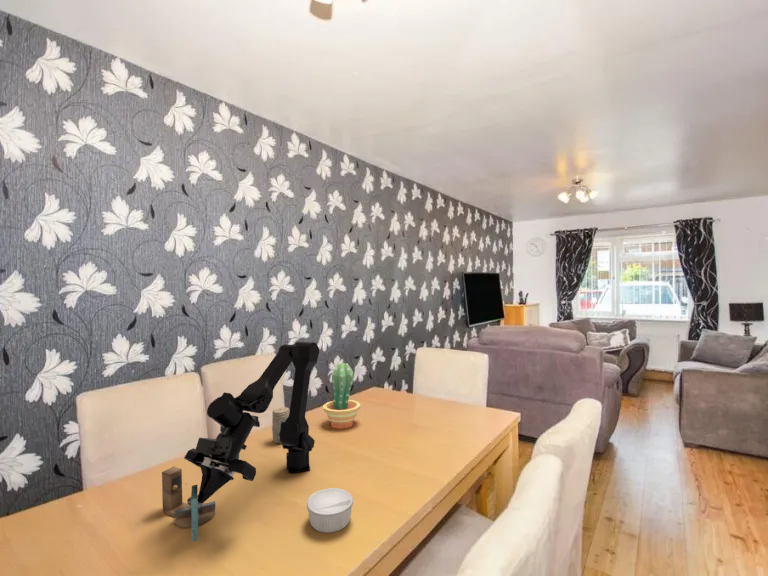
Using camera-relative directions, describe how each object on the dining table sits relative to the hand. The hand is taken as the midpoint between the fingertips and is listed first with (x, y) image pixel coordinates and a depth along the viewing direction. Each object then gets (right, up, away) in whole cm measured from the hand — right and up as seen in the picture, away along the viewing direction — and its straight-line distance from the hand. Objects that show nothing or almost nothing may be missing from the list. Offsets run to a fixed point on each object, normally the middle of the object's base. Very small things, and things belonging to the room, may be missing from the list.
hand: (199, 502), depth 88 cm
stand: (-7, -8, +9) cm, 14 cm away
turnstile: (-3, -7, +5) cm, 9 cm away
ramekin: (+29, -8, +6) cm, 31 cm away
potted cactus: (+25, -7, +70) cm, 74 cm away
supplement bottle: (-9, -8, +39) cm, 41 cm away
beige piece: (+4, -8, +54) cm, 55 cm away
